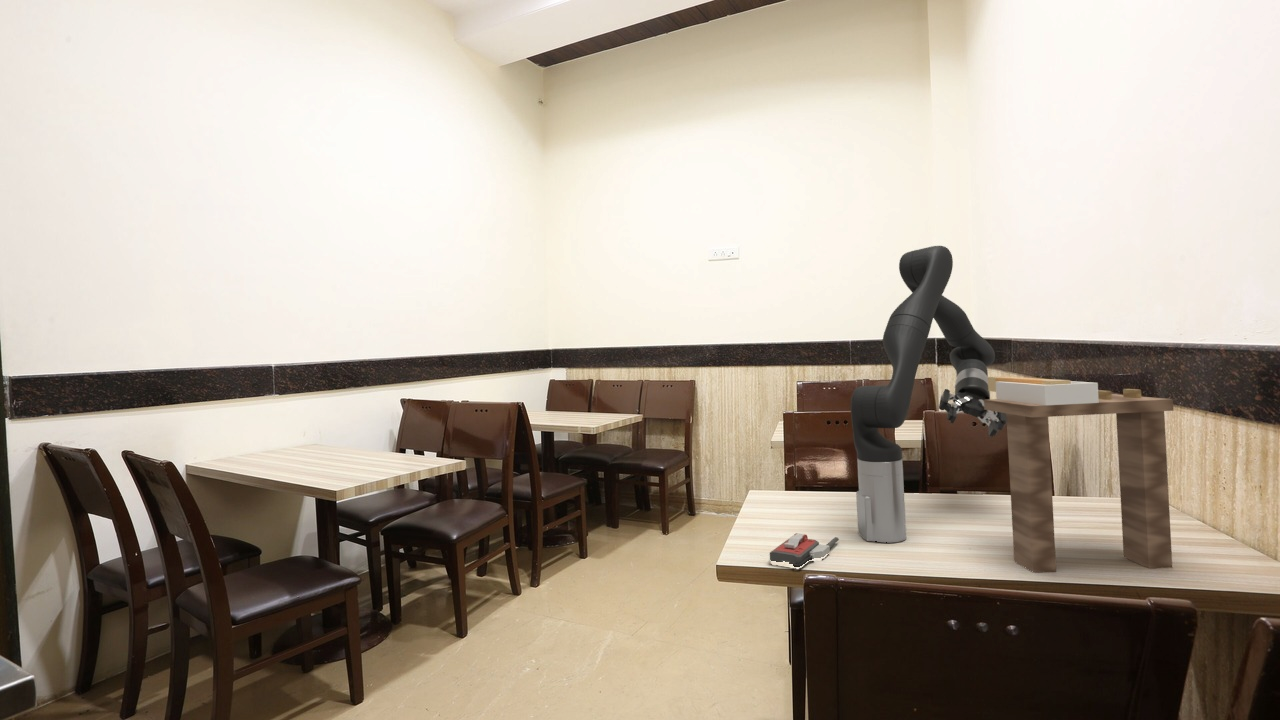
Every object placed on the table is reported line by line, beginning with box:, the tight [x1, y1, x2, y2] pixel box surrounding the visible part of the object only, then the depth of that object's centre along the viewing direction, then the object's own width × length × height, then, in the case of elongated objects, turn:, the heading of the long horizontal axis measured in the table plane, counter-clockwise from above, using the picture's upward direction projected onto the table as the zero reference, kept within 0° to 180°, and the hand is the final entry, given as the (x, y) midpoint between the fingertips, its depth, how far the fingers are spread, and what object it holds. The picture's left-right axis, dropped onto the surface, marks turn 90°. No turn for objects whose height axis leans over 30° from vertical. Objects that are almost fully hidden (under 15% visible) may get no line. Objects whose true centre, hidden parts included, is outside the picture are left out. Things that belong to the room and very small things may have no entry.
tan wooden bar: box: [988, 375, 1072, 393], centre depth 120 cm, size 3×22×3 cm, turn 177°
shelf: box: [984, 388, 1174, 573], centre depth 114 cm, size 24×16×32 cm, turn 88°
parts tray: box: [995, 380, 1099, 405], centre depth 115 cm, size 9×16×4 cm, turn 177°
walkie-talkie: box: [769, 532, 840, 567], centre depth 125 cm, size 9×4×20 cm
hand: (972, 427), depth 139 cm, fingers open, 8 cm apart
